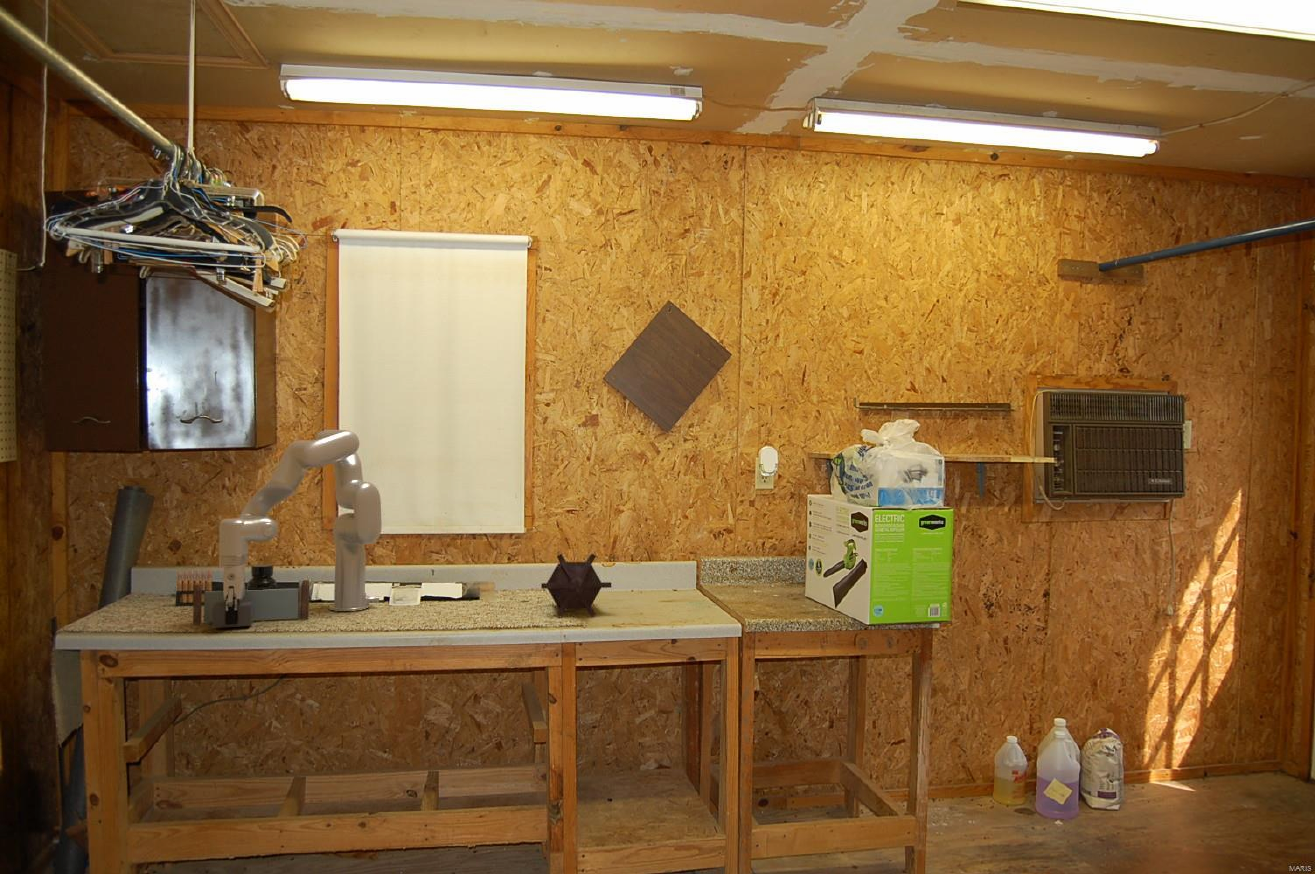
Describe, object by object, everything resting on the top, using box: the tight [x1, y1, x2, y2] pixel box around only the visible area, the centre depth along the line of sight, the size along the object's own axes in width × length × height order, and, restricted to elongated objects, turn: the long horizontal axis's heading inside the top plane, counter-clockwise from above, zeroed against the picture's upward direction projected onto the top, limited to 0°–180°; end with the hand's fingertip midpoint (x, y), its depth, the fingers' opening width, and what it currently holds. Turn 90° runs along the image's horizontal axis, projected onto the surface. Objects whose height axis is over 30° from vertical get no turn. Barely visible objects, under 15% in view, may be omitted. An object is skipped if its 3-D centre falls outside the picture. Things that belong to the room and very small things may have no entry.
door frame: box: [192, 579, 310, 627], centre depth 256 cm, size 32×2×12 cm, turn 111°
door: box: [203, 587, 299, 623], centre depth 256 cm, size 26×2×9 cm, turn 108°
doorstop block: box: [212, 601, 254, 629], centre depth 247 cm, size 10×6×6 cm, turn 110°
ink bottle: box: [247, 563, 277, 588], centre depth 288 cm, size 10×9×12 cm
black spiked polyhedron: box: [540, 553, 612, 618], centre depth 279 cm, size 21×23×30 cm
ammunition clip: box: [174, 568, 213, 607], centre depth 277 cm, size 11×2×12 cm, turn 105°
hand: (232, 620), depth 247 cm, fingers closed on doorstop block, 6 cm apart
